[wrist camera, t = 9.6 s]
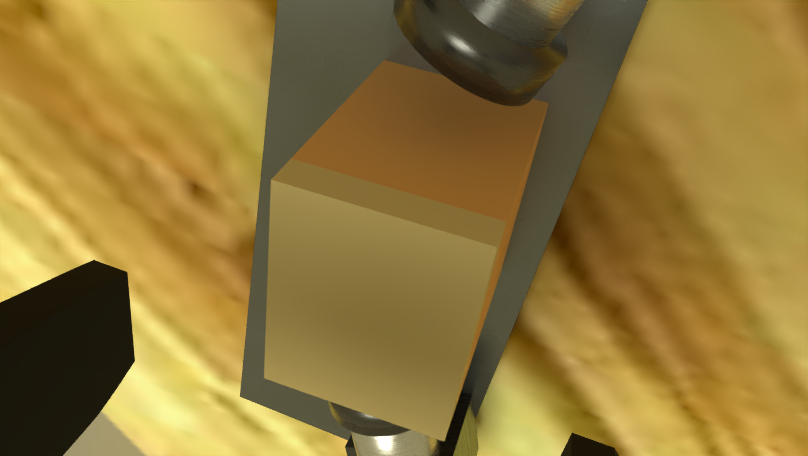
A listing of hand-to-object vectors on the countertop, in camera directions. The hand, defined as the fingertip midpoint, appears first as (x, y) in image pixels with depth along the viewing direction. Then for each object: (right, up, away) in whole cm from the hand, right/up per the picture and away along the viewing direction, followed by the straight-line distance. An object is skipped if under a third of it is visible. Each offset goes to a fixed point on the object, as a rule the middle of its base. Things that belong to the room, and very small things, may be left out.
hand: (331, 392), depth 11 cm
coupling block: (+2, +4, +7) cm, 8 cm away
